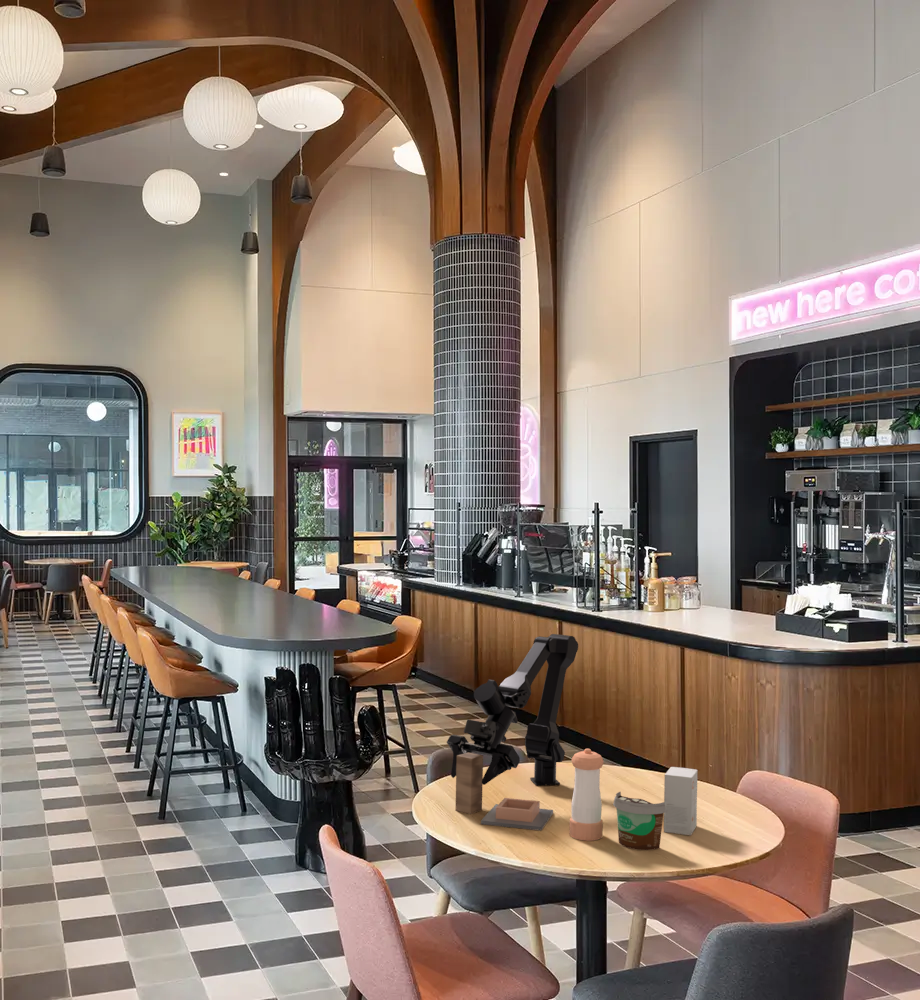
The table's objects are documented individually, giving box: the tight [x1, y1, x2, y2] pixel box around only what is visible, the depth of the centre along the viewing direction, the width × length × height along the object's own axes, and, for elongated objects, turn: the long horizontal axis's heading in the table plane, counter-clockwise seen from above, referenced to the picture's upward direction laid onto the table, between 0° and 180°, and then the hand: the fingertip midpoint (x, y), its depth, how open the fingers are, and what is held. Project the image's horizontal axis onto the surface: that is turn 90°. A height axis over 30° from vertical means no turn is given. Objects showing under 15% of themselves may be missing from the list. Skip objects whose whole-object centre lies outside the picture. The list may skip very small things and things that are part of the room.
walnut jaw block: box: [454, 752, 484, 815], centre depth 250 cm, size 4×4×13 cm
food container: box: [613, 791, 666, 851], centre depth 226 cm, size 12×6×10 cm, turn 47°
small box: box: [663, 766, 698, 836], centre depth 239 cm, size 8×6×13 cm
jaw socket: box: [480, 797, 554, 832], centre depth 244 cm, size 14×14×3 cm
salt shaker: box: [568, 748, 604, 842], centre depth 232 cm, size 7×7×19 cm
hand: (467, 780), depth 249 cm, fingers open, 9 cm apart
